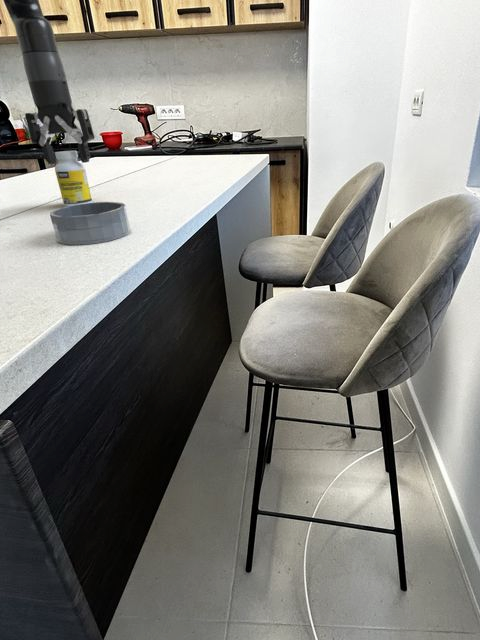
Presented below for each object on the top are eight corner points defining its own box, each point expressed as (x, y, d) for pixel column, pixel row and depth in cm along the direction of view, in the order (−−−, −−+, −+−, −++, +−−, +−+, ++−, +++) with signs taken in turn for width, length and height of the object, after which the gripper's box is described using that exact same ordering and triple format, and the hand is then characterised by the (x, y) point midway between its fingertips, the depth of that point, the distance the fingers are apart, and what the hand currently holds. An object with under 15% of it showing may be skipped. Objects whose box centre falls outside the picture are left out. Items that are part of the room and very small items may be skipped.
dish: (42, 244, 71) (33, 217, 69) (81, 226, 82) (75, 202, 79) (109, 245, 69) (102, 216, 67) (141, 226, 79) (136, 201, 77)
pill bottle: (58, 207, 101) (44, 153, 95) (73, 202, 106) (60, 150, 100) (84, 207, 100) (70, 152, 94) (97, 201, 105) (86, 149, 99)
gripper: (5, 81, 88) (31, 166, 96) (67, 76, 86) (88, 163, 94) (29, 82, 95) (51, 162, 103) (87, 77, 92) (105, 159, 100)
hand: (69, 163), depth 98 cm, fingers open, 8 cm apart
